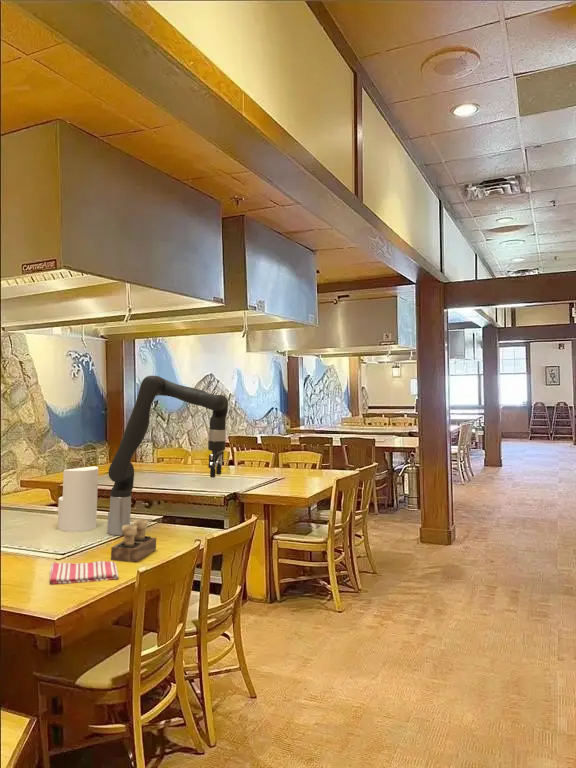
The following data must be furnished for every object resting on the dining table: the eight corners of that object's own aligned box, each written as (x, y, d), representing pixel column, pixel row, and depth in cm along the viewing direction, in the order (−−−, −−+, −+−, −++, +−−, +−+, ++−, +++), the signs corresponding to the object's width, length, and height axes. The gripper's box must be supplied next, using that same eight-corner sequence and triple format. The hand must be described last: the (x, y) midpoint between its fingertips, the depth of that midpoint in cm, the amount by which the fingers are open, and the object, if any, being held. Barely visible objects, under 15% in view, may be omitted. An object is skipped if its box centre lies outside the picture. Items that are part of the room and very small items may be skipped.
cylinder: (104, 526, 287) (106, 468, 286) (73, 533, 272) (75, 472, 272) (80, 521, 296) (82, 464, 296) (49, 527, 281) (51, 467, 281)
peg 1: (119, 549, 236) (119, 527, 236) (125, 545, 242) (126, 524, 242) (132, 550, 235) (133, 528, 235) (138, 546, 241) (139, 525, 241)
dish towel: (50, 571, 221) (50, 561, 221) (115, 566, 229) (116, 557, 229) (49, 586, 205) (49, 576, 205) (119, 581, 213) (119, 571, 213)
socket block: (110, 559, 236) (111, 545, 236) (131, 547, 253) (131, 534, 253) (137, 562, 234) (137, 548, 234) (155, 549, 251) (156, 536, 251)
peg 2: (130, 542, 246) (131, 521, 246) (136, 539, 252) (137, 518, 252) (143, 544, 245) (144, 522, 245) (148, 540, 251) (149, 519, 251)
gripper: (213, 437, 275) (212, 473, 275) (203, 440, 261) (202, 477, 261) (229, 438, 274) (228, 474, 274) (220, 441, 260) (218, 479, 260)
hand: (215, 476), depth 267 cm, fingers open, 8 cm apart
